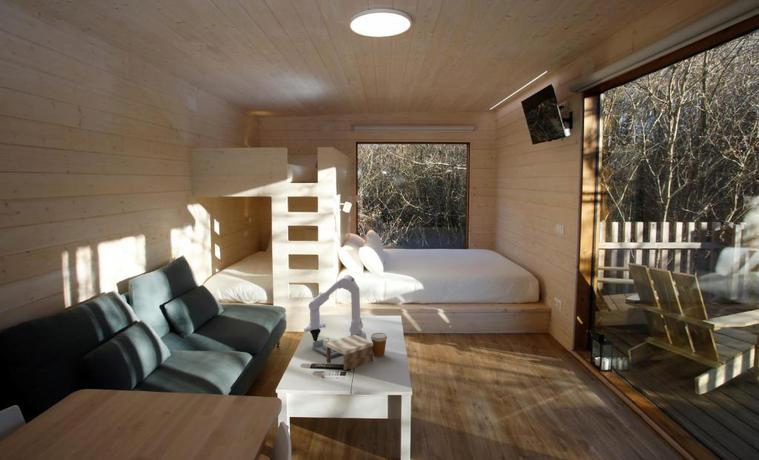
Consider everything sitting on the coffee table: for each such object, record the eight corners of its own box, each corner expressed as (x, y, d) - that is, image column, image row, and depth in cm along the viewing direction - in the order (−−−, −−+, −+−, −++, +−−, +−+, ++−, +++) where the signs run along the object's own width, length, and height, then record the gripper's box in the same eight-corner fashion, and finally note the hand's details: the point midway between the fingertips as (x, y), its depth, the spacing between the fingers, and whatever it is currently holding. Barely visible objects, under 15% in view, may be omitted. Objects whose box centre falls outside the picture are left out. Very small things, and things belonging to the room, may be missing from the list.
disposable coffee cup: (385, 359, 254) (385, 338, 253) (369, 357, 256) (369, 337, 255) (388, 352, 264) (388, 333, 262) (372, 351, 266) (372, 331, 264)
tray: (327, 344, 276) (327, 335, 275) (345, 353, 263) (345, 343, 262) (312, 349, 268) (312, 339, 268) (330, 358, 255) (330, 348, 255)
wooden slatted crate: (354, 352, 264) (354, 334, 263) (373, 361, 252) (373, 342, 250) (326, 361, 250) (326, 342, 249) (344, 371, 238) (344, 351, 237)
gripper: (320, 315, 282) (321, 336, 284) (301, 320, 272) (301, 342, 274) (327, 318, 277) (327, 339, 279) (307, 323, 267) (308, 345, 269)
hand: (315, 340), depth 276 cm, fingers closed
